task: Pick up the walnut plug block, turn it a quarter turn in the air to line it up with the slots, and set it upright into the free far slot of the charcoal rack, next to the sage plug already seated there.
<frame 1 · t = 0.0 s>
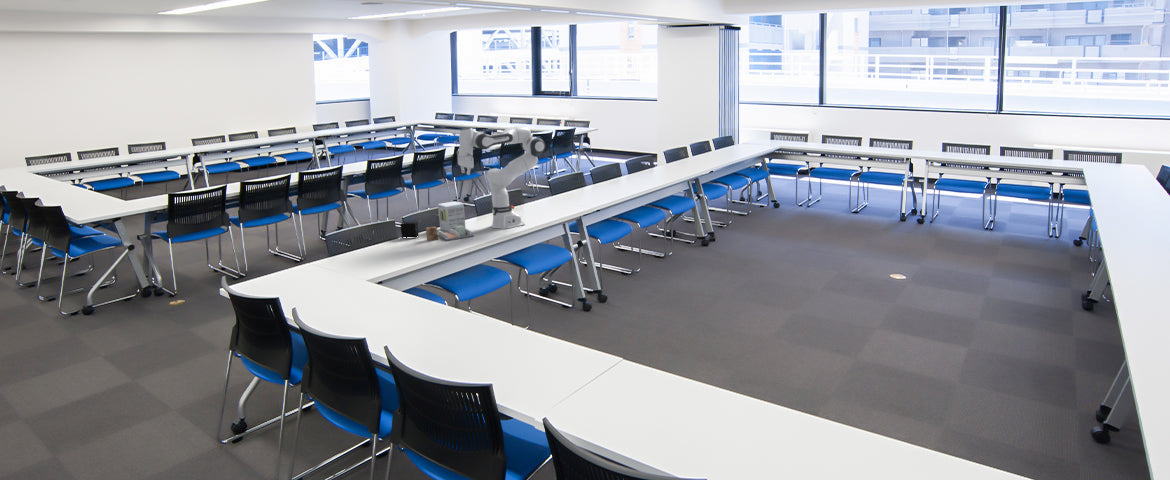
hand: (465, 173, 495), 39 cm above the table, tool pointing down, fingers open, 8 cm apart
supplement box: (452, 229, 514), on the table
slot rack: (455, 236, 494), on the table
electronic device: (410, 237, 496), on the table
walnut plug: (432, 239, 487), on the table
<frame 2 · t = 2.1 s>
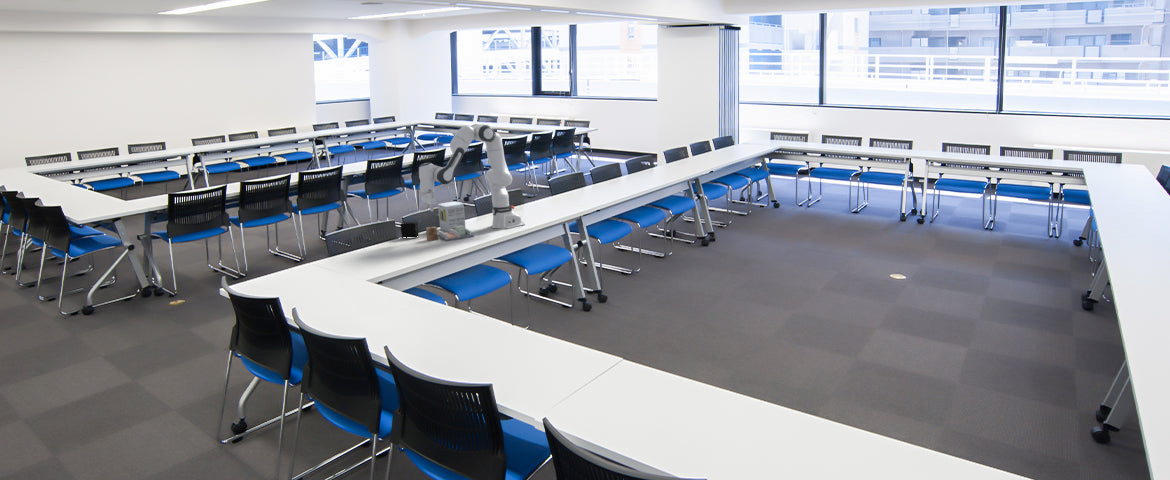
hand: (429, 209, 483), 20 cm above the table, tool pointing down, fingers open, 8 cm apart
nothing on the table moved.
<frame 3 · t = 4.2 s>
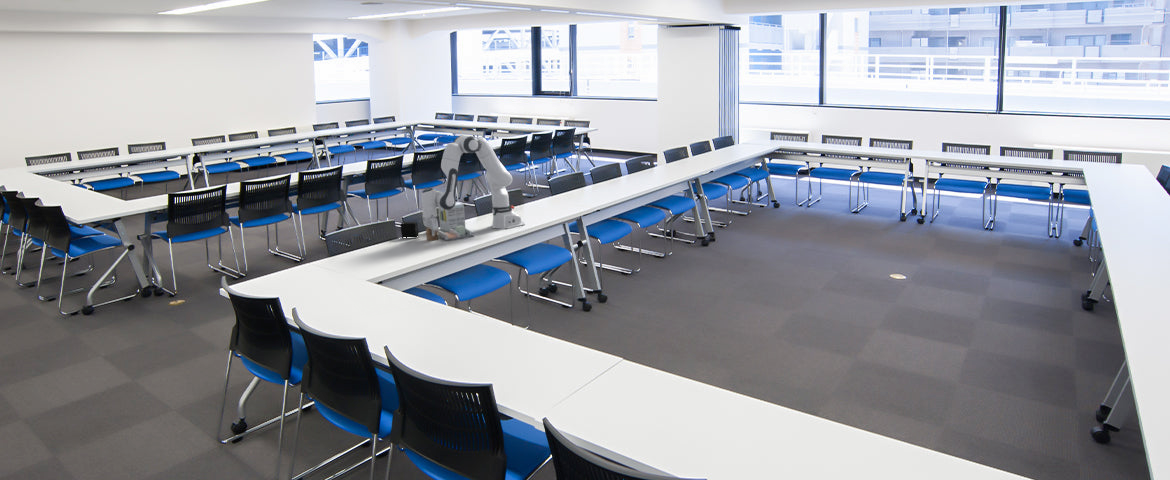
hand: (431, 234, 487), 3 cm above the table, tool pointing down, fingers closed on walnut plug, 4 cm apart
walnut plug: (432, 239, 487), on the table, touching gripper
everything else where it was.
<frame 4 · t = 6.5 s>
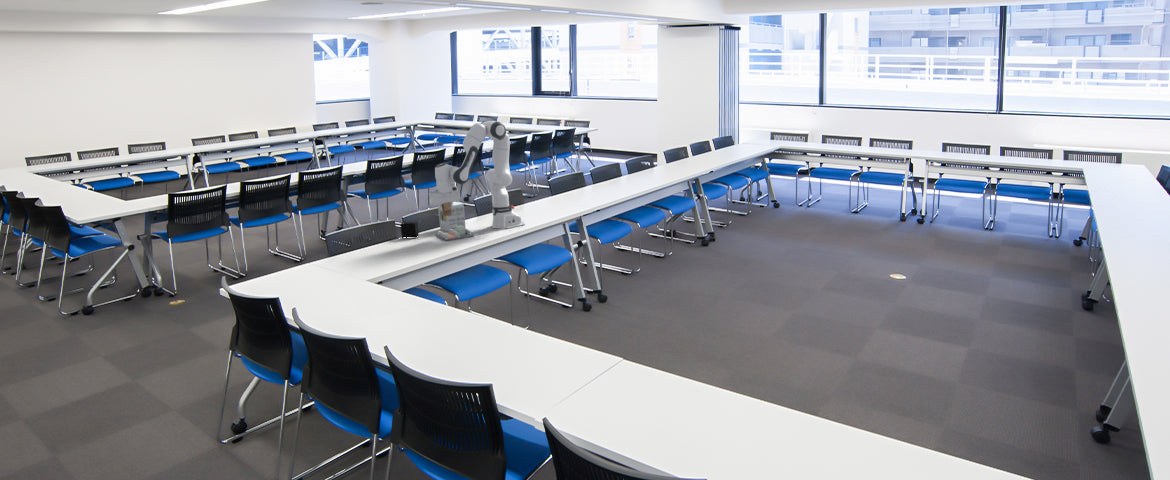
hand: (446, 210, 487), 18 cm above the table, tool pointing down, fingers closed on walnut plug, 4 cm apart
walnut plug: (446, 214, 488), point 15 cm above the table, touching gripper
everything else where it was.
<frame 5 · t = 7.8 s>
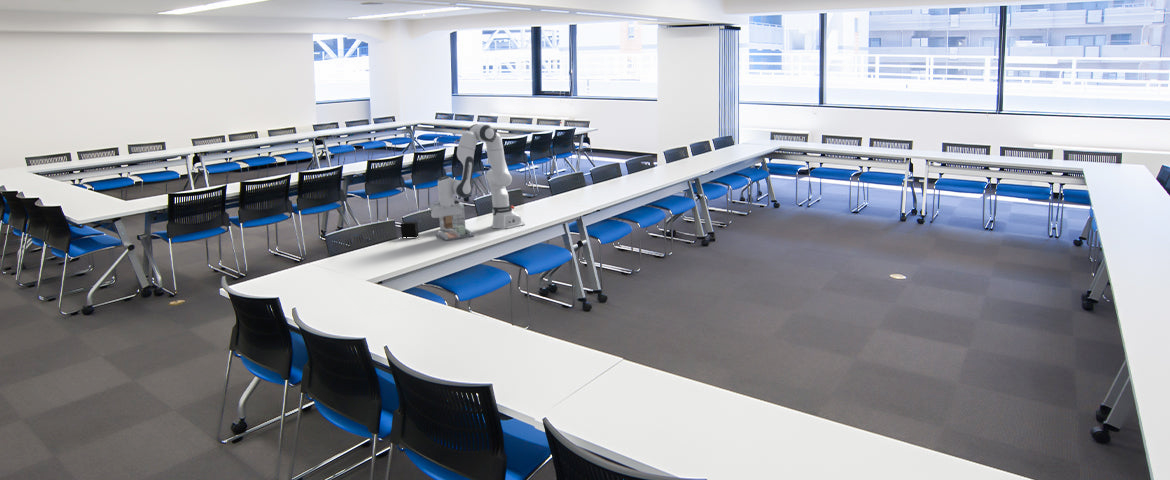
hand: (447, 222, 489), 10 cm above the table, tool pointing down, fingers closed on walnut plug, 4 cm apart
walnut plug: (448, 227, 490), point 6 cm above the table, touching gripper
everything else where it was.
when the fingers open (5 cm above the table, at t = 8.9 s): walnut plug stays where it is, resting on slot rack.
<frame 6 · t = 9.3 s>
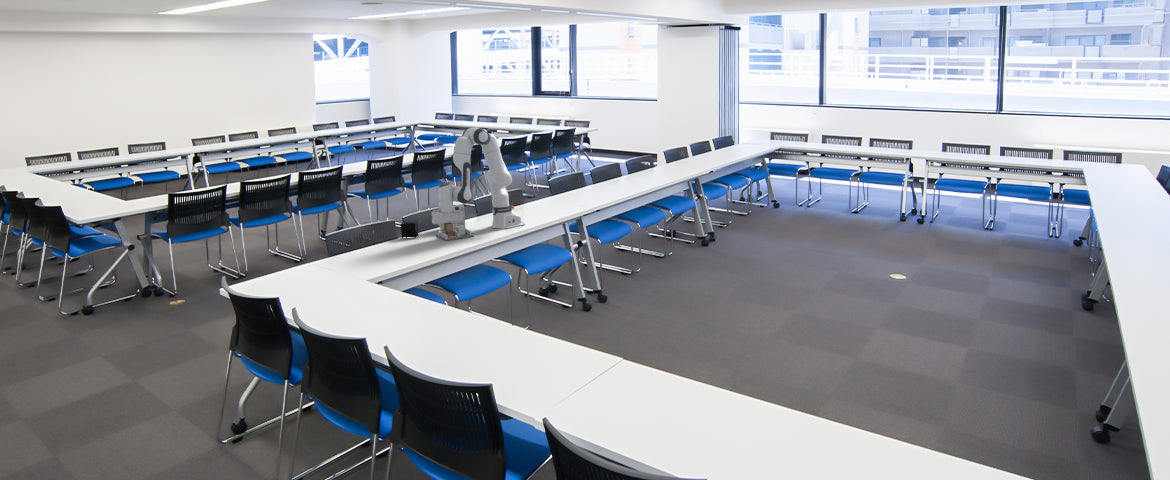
hand: (448, 229, 490), 5 cm above the table, tool pointing down, fingers open, 8 cm apart
walnut plug: (449, 235, 491), point 1 cm above the table, touching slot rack
everything else where it was.
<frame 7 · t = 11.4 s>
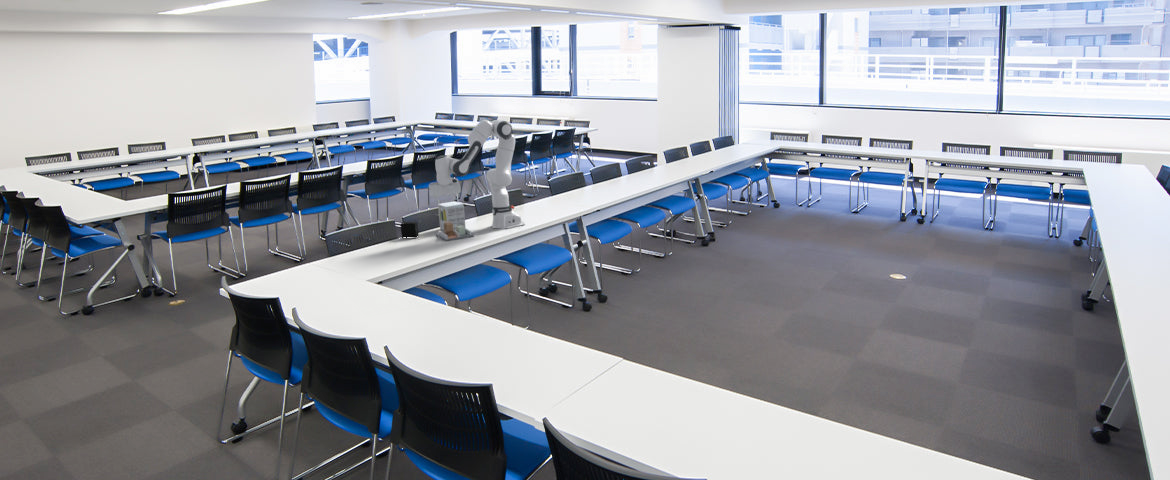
hand: (446, 201, 489), 23 cm above the table, tool pointing down, fingers open, 8 cm apart
nothing on the table moved.
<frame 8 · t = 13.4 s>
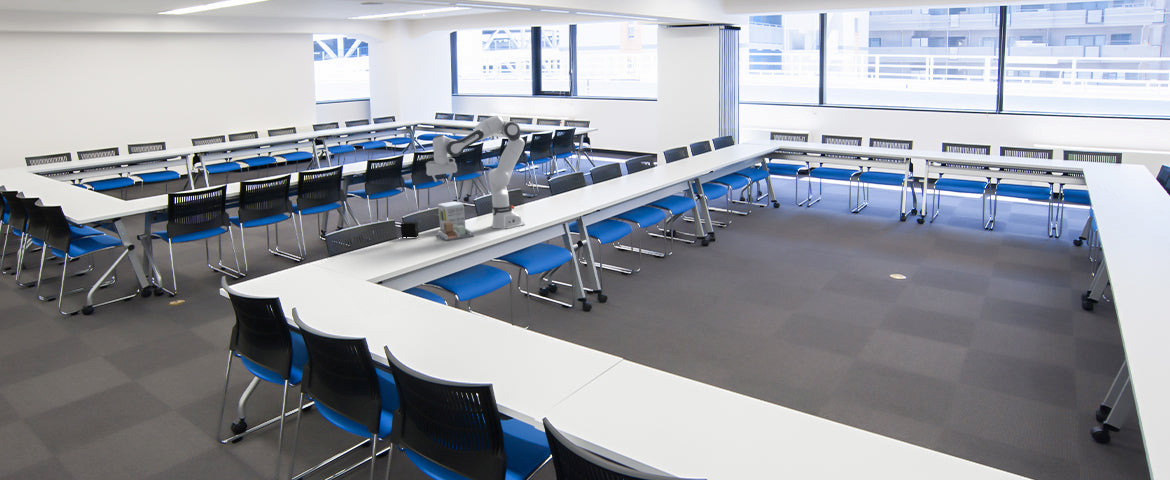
hand: (442, 180, 501), 34 cm above the table, tool pointing down, fingers open, 8 cm apart
nothing on the table moved.
at the end: walnut plug 0.1 cm from the target spot on the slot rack, point 1.3 cm above the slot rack's base; walnut plug tilted 0°; the gripper is holding nothing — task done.
